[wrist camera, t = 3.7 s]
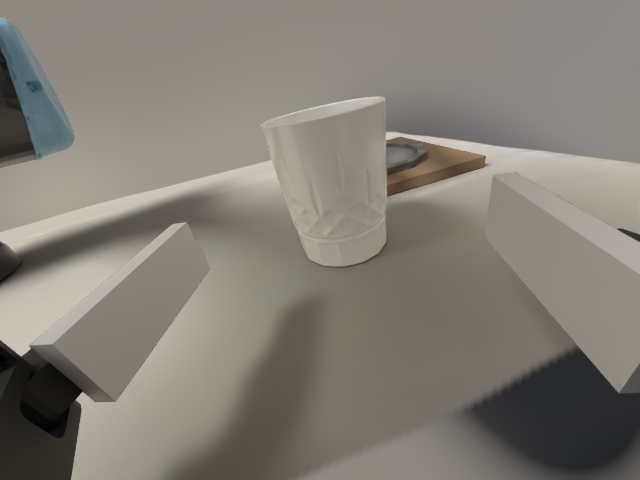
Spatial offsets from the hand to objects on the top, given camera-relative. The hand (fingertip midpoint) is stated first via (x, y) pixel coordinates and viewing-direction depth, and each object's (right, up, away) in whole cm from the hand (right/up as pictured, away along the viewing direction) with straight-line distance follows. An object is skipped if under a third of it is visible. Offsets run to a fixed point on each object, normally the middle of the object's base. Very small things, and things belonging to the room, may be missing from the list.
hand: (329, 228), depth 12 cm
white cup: (+2, -1, +10) cm, 10 cm away
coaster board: (+7, +9, +24) cm, 27 cm away
